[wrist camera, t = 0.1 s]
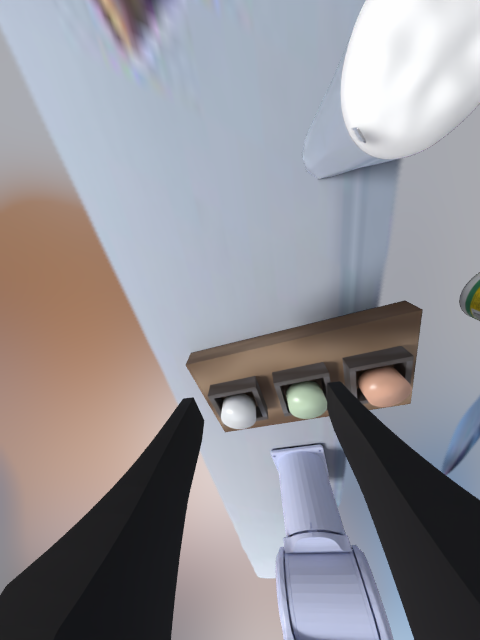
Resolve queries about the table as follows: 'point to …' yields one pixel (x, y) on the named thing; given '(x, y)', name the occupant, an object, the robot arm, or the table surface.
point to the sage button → (306, 400)
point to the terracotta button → (384, 386)
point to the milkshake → (397, 84)
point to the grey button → (238, 411)
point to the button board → (309, 360)
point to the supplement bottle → (471, 298)
